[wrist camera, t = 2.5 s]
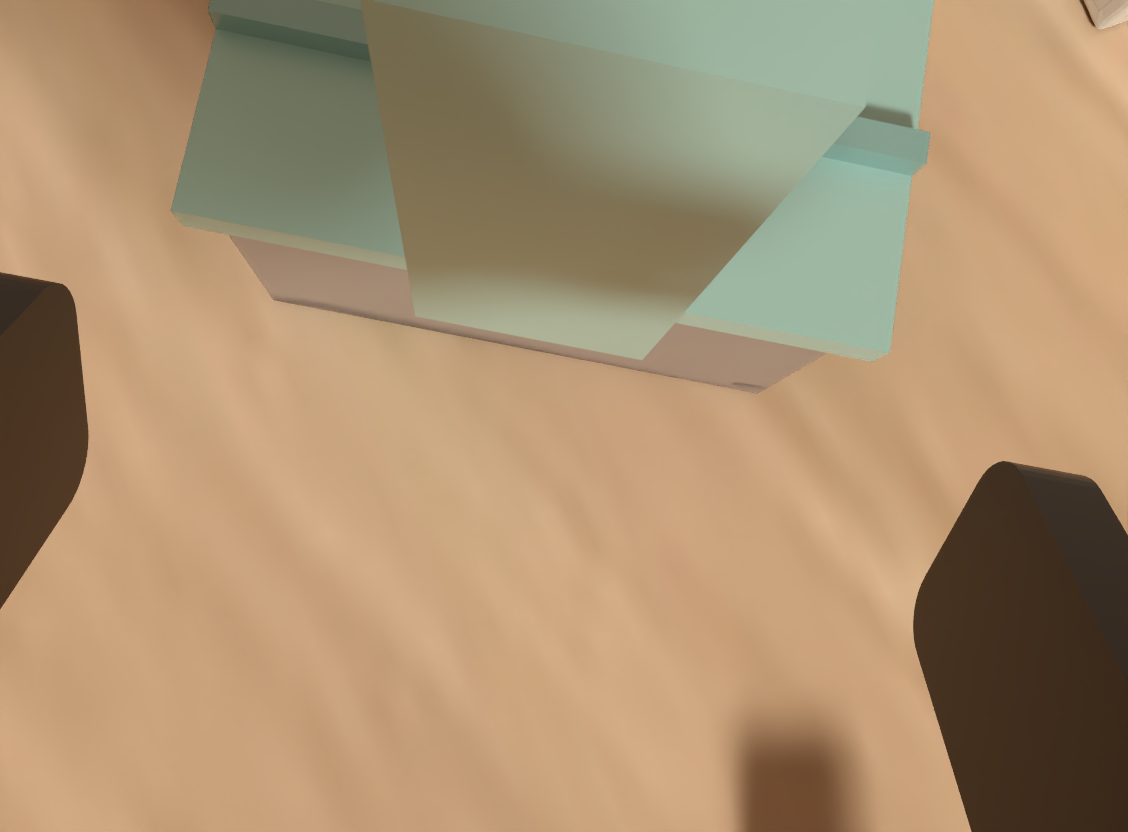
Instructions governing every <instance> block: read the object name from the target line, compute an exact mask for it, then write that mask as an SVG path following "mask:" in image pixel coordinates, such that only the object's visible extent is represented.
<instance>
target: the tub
mask: <svg viewBox="0 0 1128 832" xmlns="http://www.w3.org/2000/svg"><path fill="white" fill-rule="evenodd" d="M229 236H230V238H231V239H232V241H233V242H234V243H235V245H236V246H237V248H238V249H239V251H240V252H241V254H242V255H243V256H244V258H245V259H246V261H247V262H248V264H249V265H250V267H251V268H252V269H253V271H254V272H255V274H256V275H257V277H258V278H259V280H260V281H261V282H262V284H263V285H264V287H265V288H266V290H267V291H268V292H269V294H270V295H271V297H272V298H273V300H277V301H282V302H287V303H292V304H298V305H303V306H308V307H313V308H318V309H323V310H329V311H334V312H339V313H344V314H349V315H355V316H360V317H365V318H370V319H375V320H380V321H386V322H391V323H396V324H401V325H406V326H412V327H417V328H422V329H427V330H432V331H437V332H443V333H448V334H453V335H458V336H463V337H469V338H474V339H479V340H484V341H489V342H494V343H500V344H505V345H510V346H515V347H520V348H525V349H531V350H536V351H541V352H546V353H551V354H557V355H562V356H567V357H572V358H577V359H582V360H588V361H593V362H598V363H603V364H608V365H614V366H619V367H624V368H629V369H634V370H639V371H645V372H650V373H655V374H660V375H665V376H671V377H676V378H681V379H686V380H691V381H696V382H702V383H707V384H712V385H717V386H722V387H728V388H733V389H738V390H743V391H748V392H753V393H759V392H761V391H763V390H765V389H766V388H768V387H770V386H771V385H773V384H775V383H777V382H778V381H780V380H782V379H783V378H785V377H787V376H789V375H790V374H792V373H794V372H795V371H797V370H799V369H801V368H802V367H804V366H806V365H807V364H809V363H811V362H813V361H814V360H816V359H818V358H819V357H821V356H823V355H825V354H826V353H825V352H820V351H815V350H810V349H805V348H800V347H795V346H790V345H785V344H780V343H775V342H770V341H765V340H759V339H754V338H749V337H744V336H739V335H734V334H729V333H724V332H719V331H714V330H709V329H704V328H699V327H693V326H688V325H683V324H678V323H675V324H674V325H673V326H672V327H671V328H670V329H669V330H668V331H667V333H666V334H665V335H664V336H663V337H662V338H661V339H660V341H659V342H658V343H657V344H656V345H655V346H654V347H653V348H652V350H651V351H650V352H649V353H648V354H647V355H646V356H645V358H644V359H643V360H638V359H633V358H628V357H623V356H618V355H612V354H607V353H602V352H597V351H592V350H587V349H581V348H576V347H571V346H566V345H561V344H556V343H550V342H545V341H540V340H535V339H530V338H525V337H520V336H514V335H509V334H504V333H499V332H494V331H489V330H483V329H478V328H473V327H468V326H463V325H458V324H452V323H447V322H442V321H437V320H432V319H427V318H421V317H416V316H415V312H414V306H413V300H412V295H411V289H410V283H409V277H408V272H407V270H404V269H399V268H394V267H389V266H384V265H379V264H374V263H369V262H364V261H359V260H353V259H348V258H343V257H338V256H333V255H328V254H323V253H318V252H313V251H308V250H303V249H298V248H293V247H287V246H282V245H277V244H272V243H267V242H262V241H257V240H252V239H247V238H242V237H237V236H232V235H229Z"/></svg>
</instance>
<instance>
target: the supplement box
mask: <svg viewBox="0 0 1128 832" xmlns="http://www.w3.org/2000/svg"><path fill="white" fill-rule="evenodd" d="M1084 2H1085V4H1086V6H1087V9H1088V11H1089V13H1090V16H1091V18H1092V20H1093V22H1094V24H1095V26H1096V28H1097V29H1099V30H1102V29H1105V28H1108V27H1111V26H1114V25H1117V24H1120V23H1123V22H1126V21H1128V0H1084Z"/></svg>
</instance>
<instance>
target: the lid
mask: <svg viewBox="0 0 1128 832" xmlns="http://www.w3.org/2000/svg"><path fill="white" fill-rule="evenodd" d="M933 3H934V0H210V3H209V7H208V12H209V14H210V17H211V19H212V21H213V23H214V26H215V28H216V30H215V34H214V38H213V42H212V47H211V51H210V55H209V59H208V63H207V67H206V71H205V75H204V79H203V83H202V87H201V91H200V95H199V99H198V103H197V107H196V111H195V115H194V119H193V123H192V127H191V131H190V135H189V139H188V143H187V147H186V151H185V155H184V159H183V163H182V167H181V171H180V175H179V179H178V183H177V187H176V192H175V196H174V200H173V204H172V208H171V211H172V213H173V214H174V215H175V216H176V218H177V219H178V220H179V221H180V223H181V224H182V225H183V226H186V227H191V228H196V229H201V230H206V231H211V232H216V233H221V234H227V235H232V236H237V237H242V238H247V239H252V240H257V241H262V242H267V243H272V244H277V245H282V246H287V247H293V248H298V249H303V250H308V251H313V252H318V253H323V254H328V255H333V256H338V257H343V258H348V259H353V260H359V261H364V262H369V263H374V264H379V265H384V266H389V267H394V268H399V269H404V270H407V272H408V277H409V283H410V289H411V295H412V300H413V306H414V312H415V316H416V317H421V318H427V319H432V320H437V321H442V322H447V323H452V324H458V325H463V326H468V327H473V328H478V329H483V330H489V331H494V332H499V333H504V334H509V335H514V336H520V337H525V338H530V339H535V340H540V341H545V342H550V343H556V344H561V345H566V346H571V347H576V348H581V349H587V350H592V351H597V352H602V353H607V354H612V355H618V356H623V357H628V358H633V359H638V360H643V359H644V358H645V356H646V355H647V354H648V353H649V352H650V351H651V350H652V348H653V347H654V346H655V345H656V344H657V343H658V342H659V341H660V339H661V338H662V337H663V336H664V335H665V334H666V333H667V331H668V330H669V329H670V328H671V327H672V326H673V325H674V324H675V323H678V324H683V325H688V326H693V327H699V328H704V329H709V330H714V331H719V332H724V333H729V334H734V335H739V336H744V337H749V338H754V339H759V340H765V341H770V342H775V343H780V344H785V345H790V346H795V347H800V348H805V349H810V350H815V351H820V352H825V353H831V354H836V355H841V356H846V357H851V358H856V359H861V360H866V361H871V362H873V361H875V360H877V359H879V358H881V357H883V356H885V355H887V354H889V353H890V348H891V340H892V332H893V324H894V316H895V308H896V300H897V292H898V284H899V276H900V268H901V260H902V252H903V244H904V236H905V228H906V220H907V212H908V204H909V196H910V188H911V180H912V175H914V174H915V173H916V172H917V171H918V170H919V169H921V168H922V167H923V166H924V165H925V164H926V163H927V156H928V147H929V139H930V132H927V131H922V130H918V124H919V116H920V108H921V100H922V92H923V84H924V76H925V68H926V60H927V52H928V44H929V36H930V28H931V19H932V11H933Z"/></svg>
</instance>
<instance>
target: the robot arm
mask: <svg viewBox="0 0 1128 832" xmlns="http://www.w3.org/2000/svg"><path fill="white" fill-rule="evenodd" d="M87 450H88V423H87V413H86V403H85V394H84V384H83V374H82V364H81V354H80V344H79V335H78V325H77V315H76V308H75V303H74V300H73V297H72V295H71V293H70V291H69V290H68V288H67V287H66V286H64V285H63V284H60V283H55V282H49V281H44V280H39V279H33V278H28V277H22V276H17V275H12V274H6V273H1V272H0V609H1V607H2V606H3V604H4V603H5V601H6V600H7V598H8V597H9V595H10V594H11V592H12V591H13V589H14V588H15V586H16V585H17V583H18V582H19V580H20V579H21V577H22V576H23V574H24V573H25V571H26V570H27V568H28V567H29V565H30V564H31V562H32V560H33V559H34V557H35V556H36V554H37V553H38V551H39V550H40V548H41V547H42V545H43V544H44V542H45V541H46V539H47V538H48V536H49V535H50V533H51V532H52V530H53V529H54V527H55V526H56V524H57V523H58V521H59V520H60V518H61V517H62V515H63V514H64V512H65V511H66V509H67V508H68V506H69V504H70V503H71V501H72V499H73V497H74V495H75V493H76V491H77V489H78V486H79V484H80V481H81V478H82V475H83V471H84V467H85V463H86V457H87ZM913 631H914V642H915V647H916V651H917V654H918V658H919V661H920V664H921V668H922V671H923V674H924V677H925V681H926V684H927V687H928V690H929V694H930V697H931V700H932V704H933V707H934V710H935V713H936V717H937V720H938V723H939V726H940V730H941V733H942V736H943V739H944V743H945V746H946V749H947V753H948V756H949V759H950V762H951V766H952V769H953V772H954V775H955V779H956V782H957V785H958V789H959V792H960V795H961V798H962V802H963V805H964V808H965V811H966V815H967V818H968V821H969V825H970V828H971V831H972V832H1128V535H1127V533H1126V532H1125V530H1124V528H1123V526H1122V525H1121V523H1120V521H1119V520H1118V518H1117V516H1116V515H1115V513H1114V511H1113V510H1112V508H1111V506H1110V505H1109V503H1108V501H1107V499H1106V498H1105V496H1104V494H1103V493H1102V491H1101V489H1100V488H1099V487H1098V485H1097V484H1096V483H1095V482H1094V481H1093V480H1092V479H1090V478H1088V477H1086V476H1082V475H1076V474H1071V473H1066V472H1060V471H1055V470H1050V469H1044V468H1039V467H1033V466H1028V465H1023V464H1017V463H1012V462H1005V461H1002V462H998V463H996V464H994V465H992V466H991V467H990V468H989V469H988V470H987V471H986V472H985V473H984V474H983V476H982V477H981V479H980V480H979V482H978V484H977V485H976V487H975V489H974V491H973V493H972V494H971V496H970V498H969V500H968V501H967V503H966V505H965V507H964V508H963V510H962V512H961V514H960V516H959V517H958V519H957V521H956V523H955V524H954V526H953V528H952V530H951V531H950V533H949V535H948V537H947V539H946V540H945V542H944V544H943V546H942V547H941V549H940V551H939V553H938V554H937V556H936V558H935V560H934V562H933V563H932V565H931V567H930V569H929V570H928V572H927V574H926V576H925V578H924V580H923V582H922V584H921V586H920V589H919V592H918V596H917V599H916V604H915V610H914V621H913Z"/></svg>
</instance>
